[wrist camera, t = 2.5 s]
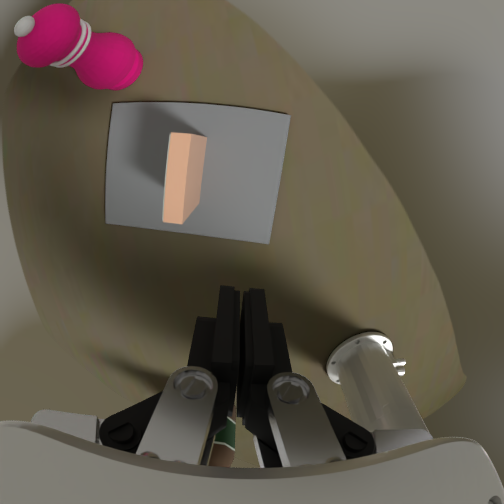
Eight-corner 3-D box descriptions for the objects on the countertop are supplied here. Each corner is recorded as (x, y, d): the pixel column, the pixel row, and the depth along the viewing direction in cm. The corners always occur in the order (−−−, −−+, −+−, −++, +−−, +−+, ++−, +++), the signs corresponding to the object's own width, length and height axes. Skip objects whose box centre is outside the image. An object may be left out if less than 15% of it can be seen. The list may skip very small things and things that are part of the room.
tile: (207, 137, 29) (191, 133, 21) (199, 203, 32) (182, 224, 24) (191, 135, 29) (169, 132, 20) (183, 201, 32) (161, 221, 23)
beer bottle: (202, 415, 49) (191, 515, 27) (192, 394, 46) (175, 506, 24) (239, 414, 49) (237, 518, 26) (232, 393, 46) (228, 510, 23)
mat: (290, 115, 29) (290, 115, 28) (268, 242, 35) (268, 244, 34) (115, 103, 27) (113, 103, 27) (107, 222, 33) (105, 223, 33)
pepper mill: (156, 69, 26) (63, 8, 7) (111, 104, 27) (-4, 87, 9) (133, 35, 23) (45, -29, 5) (91, 69, 25) (-15, 39, 6)
